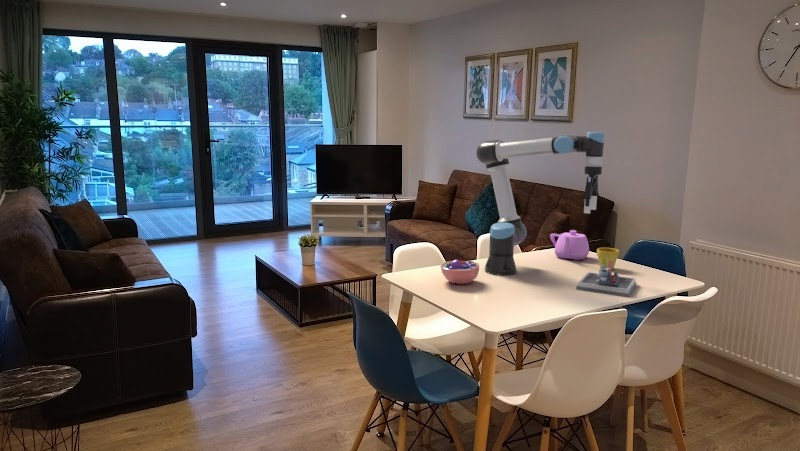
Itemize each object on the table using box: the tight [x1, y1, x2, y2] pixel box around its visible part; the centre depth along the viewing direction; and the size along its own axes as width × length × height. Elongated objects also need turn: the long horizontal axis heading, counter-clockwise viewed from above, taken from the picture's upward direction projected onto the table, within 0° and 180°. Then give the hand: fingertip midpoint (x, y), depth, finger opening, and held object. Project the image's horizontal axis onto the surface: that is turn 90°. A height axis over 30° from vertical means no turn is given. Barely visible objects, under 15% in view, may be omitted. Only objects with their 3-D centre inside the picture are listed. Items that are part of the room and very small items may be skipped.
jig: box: [575, 271, 638, 298], centre depth 253 cm, size 22×22×3 cm
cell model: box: [439, 259, 480, 285], centre depth 256 cm, size 17×20×11 cm
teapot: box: [549, 229, 590, 261], centre depth 306 cm, size 23×21×15 cm
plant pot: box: [596, 247, 620, 270], centre depth 286 cm, size 10×10×10 cm
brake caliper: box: [596, 260, 620, 286], centre depth 253 cm, size 11×11×12 cm
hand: (590, 211), depth 264 cm, fingers open, 13 cm apart
